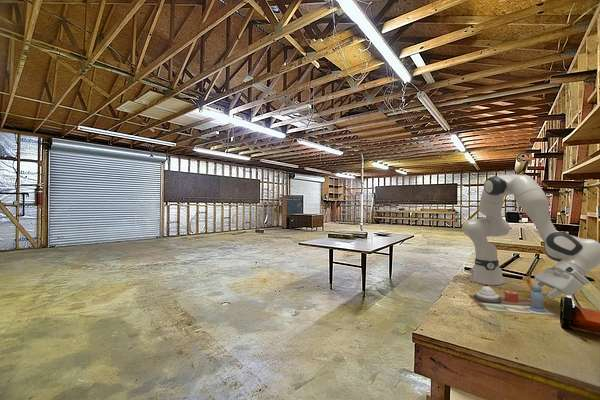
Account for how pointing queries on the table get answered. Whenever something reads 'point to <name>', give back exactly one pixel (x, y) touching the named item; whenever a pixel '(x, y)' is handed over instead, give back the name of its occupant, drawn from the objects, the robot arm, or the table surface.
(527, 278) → the figurine
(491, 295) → the dome
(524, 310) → the game board
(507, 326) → the table surface
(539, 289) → the pawn
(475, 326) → the table surface
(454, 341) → the table surface
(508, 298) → the red die
